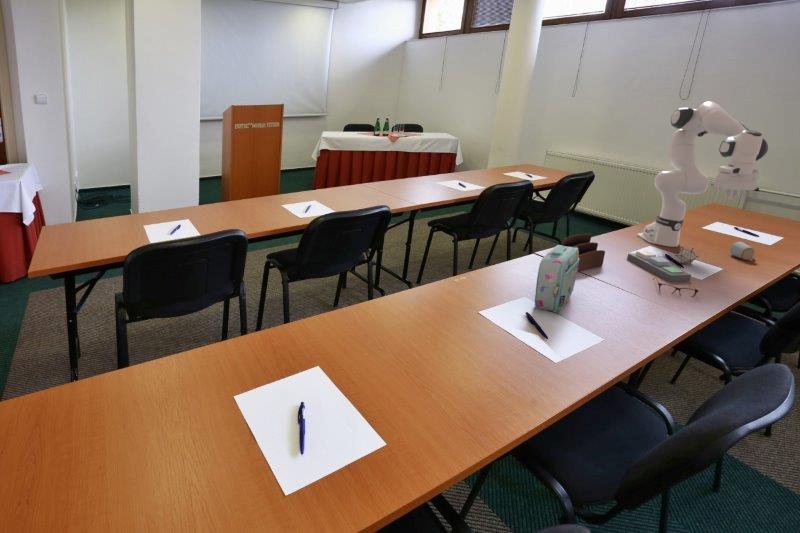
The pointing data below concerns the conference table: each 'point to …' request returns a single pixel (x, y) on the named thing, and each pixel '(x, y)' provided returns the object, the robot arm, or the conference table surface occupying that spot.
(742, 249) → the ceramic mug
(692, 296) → the eyeglasses
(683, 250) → the game die
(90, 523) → the conference table surface
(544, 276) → the lunch box
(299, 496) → the conference table surface
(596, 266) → the letter holder
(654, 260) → the slate blue button
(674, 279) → the button panel
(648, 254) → the cream button
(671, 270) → the green button
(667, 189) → the robot arm
